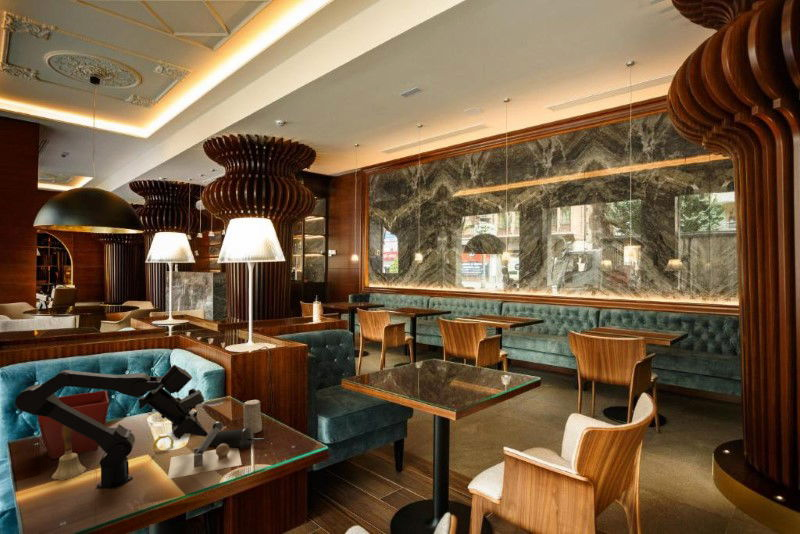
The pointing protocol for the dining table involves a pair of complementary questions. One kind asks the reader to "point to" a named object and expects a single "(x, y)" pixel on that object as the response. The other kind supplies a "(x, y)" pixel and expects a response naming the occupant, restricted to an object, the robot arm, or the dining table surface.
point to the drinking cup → (235, 438)
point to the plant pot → (52, 430)
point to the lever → (209, 437)
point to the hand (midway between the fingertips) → (206, 435)
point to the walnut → (222, 451)
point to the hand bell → (68, 459)
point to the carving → (252, 415)
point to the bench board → (202, 462)
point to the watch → (160, 438)
